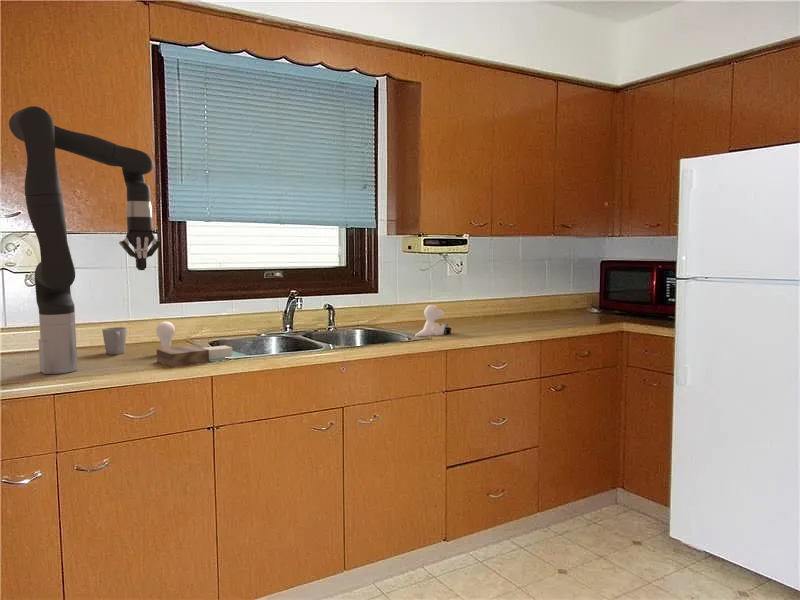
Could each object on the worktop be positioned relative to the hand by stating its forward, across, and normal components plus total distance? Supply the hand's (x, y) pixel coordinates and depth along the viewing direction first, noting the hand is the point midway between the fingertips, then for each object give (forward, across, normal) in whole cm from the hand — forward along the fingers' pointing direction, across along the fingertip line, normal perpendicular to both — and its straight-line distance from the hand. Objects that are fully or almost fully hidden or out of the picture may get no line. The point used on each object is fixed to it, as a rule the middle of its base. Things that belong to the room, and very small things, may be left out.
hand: (141, 270), depth 204 cm
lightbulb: (+29, +9, +5) cm, 31 cm away
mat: (+29, +20, -14) cm, 38 cm away
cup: (+29, -4, +16) cm, 34 cm away
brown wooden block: (+29, +7, -14) cm, 33 cm away
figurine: (+29, +108, -24) cm, 114 cm away
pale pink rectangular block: (+28, +18, -15) cm, 37 cm away
